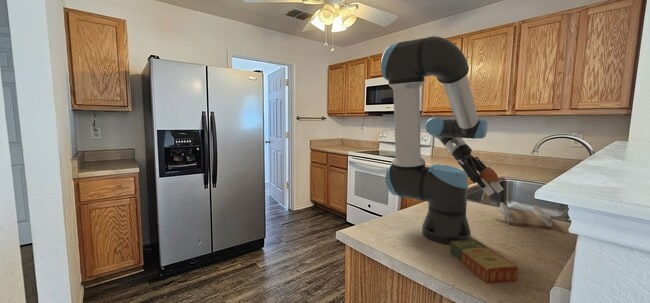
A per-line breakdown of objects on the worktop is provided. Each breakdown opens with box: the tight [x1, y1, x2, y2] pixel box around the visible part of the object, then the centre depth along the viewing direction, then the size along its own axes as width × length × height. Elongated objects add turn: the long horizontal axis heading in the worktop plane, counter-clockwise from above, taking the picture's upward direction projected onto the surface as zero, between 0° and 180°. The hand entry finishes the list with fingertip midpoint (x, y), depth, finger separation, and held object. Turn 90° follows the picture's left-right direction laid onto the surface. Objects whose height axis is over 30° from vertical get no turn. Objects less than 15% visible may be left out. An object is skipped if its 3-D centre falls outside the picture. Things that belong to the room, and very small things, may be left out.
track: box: [498, 201, 553, 230], centre depth 110 cm, size 13×16×4 cm
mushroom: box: [478, 166, 500, 205], centre depth 114 cm, size 8×8×15 cm
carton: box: [449, 239, 519, 284], centre depth 75 cm, size 8×16×4 cm, turn 7°
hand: (496, 192), depth 111 cm, fingers closed on mushroom, 8 cm apart
